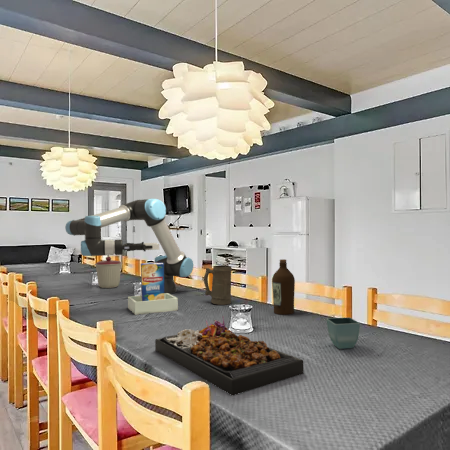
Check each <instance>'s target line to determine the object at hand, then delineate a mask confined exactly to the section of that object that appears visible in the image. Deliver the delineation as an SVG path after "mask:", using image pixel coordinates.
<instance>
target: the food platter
mask: <svg viewBox="0 0 450 450" xmlns="http://www.w3.org/2000/svg"><path fill="white" fill-rule="evenodd" d="M213 322H214V323H210V325H209V323H208V320H205V325H206V327H204V328H202V329H197V330H193V329H184V330H180V331H179V332H177V334H173V335H169V336H163V337H160V338H156V339H155V340H154V343H155V345H154V347H155V352H157V353H158V354H160V355H162V356H164V357H165V358H167V359H169V360H170V361H173V362H174V363H176V364H178V365H179V366H180V367H182V368H184V369H186V370H188V371H189V372H191V373H193V374H194V375H195V376H198V377H199V378H201V379H202V380H205V381H206V380H207V383H209V384H211V383H212V385H213V384H214V385H213V386H215V385H216V386H215V387H217V388H218V387H219V388H218V389H220V390H222V391H223V390H224V391H223V392H225V391H226V392H225V393H227V392H228V393H229V394H228V393H227V394H228V395H230V394H231V395H230V396H232V395H233V396H236V395H239V394H238V393H240V394H242V392H243V393H247V392H248V391H252V390H255V389H258V388H262V387H266V386H268V385H272V384H275V383H278V382H281V381H284V380H289V379H291V378H294V377H298V376H301V375H304V360H303V359H301V358H298V357H296V356H294V355H290V354H287V353H285V352H282V351H280V350H277V349H274V348H271V347H269V346H268V345H267V343H266V342H265V341H264V340H258V341H256V340H250V338H249V337H247V336H244V335H241V334H239V335H237V334H236V333H235V332H233V331H232V330H230V329H228V327H226V323H225V319H224V317H222V322H221V321H219V320H213ZM235 394H236V395H235Z"/></svg>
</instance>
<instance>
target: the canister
mask: <svg viewBox="0 0 450 450" xmlns="http://www.w3.org/2000/svg"><path fill="white" fill-rule="evenodd" d="M122 264H123V262H121V261H120V260H112V257H111V256H109V257H108V256H107V257H105V260H100V261H97V262H96V263H94V265H95V271H96V276H97V277H96V278H97V283H98V287H99V288H101V289H114V288H117V287H119V285H120V279H121V271H122Z"/></svg>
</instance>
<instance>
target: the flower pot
mask: <svg viewBox="0 0 450 450" xmlns="http://www.w3.org/2000/svg"><path fill="white" fill-rule="evenodd" d="M360 324H361V323H360V322H359V321H357V320H356V319H354V318H352V317H331V318H328V317H327V318H326V328H327V332H328V336H329V339H330V341H331V343H332V344H333V346H335V347H336V348H337V349H338V350H343V349H354V348H355V346H356V344H357V342H358V340H359V337H360V336H359V334H360V327H361V325H360Z"/></svg>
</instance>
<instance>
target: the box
mask: <svg viewBox="0 0 450 450" xmlns="http://www.w3.org/2000/svg"><path fill="white" fill-rule="evenodd" d="M178 301H179V298H178V297H176V296H175V295H172V294H171V293H164V299H161V300H151V301H142V299H141V295H134V296H133V295H132V296H127V309H128V310H129V311H130V312H131V311H132V312H131V313H132V314H133V315H135V316H139V314H141V315H148V314H149V313H150V314H157V313H167V312H176V311H178V310H179V304H178V303H179V302H178Z"/></svg>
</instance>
